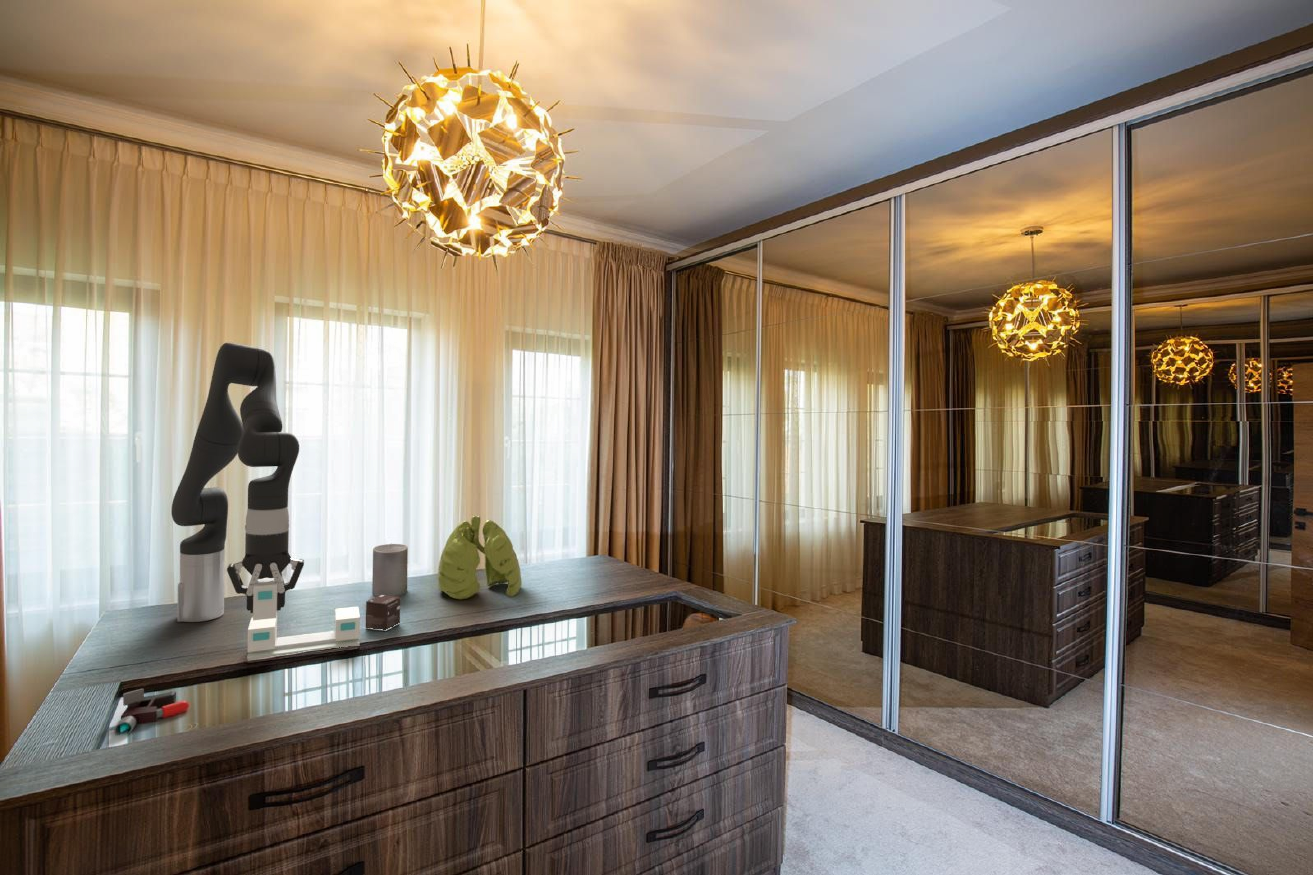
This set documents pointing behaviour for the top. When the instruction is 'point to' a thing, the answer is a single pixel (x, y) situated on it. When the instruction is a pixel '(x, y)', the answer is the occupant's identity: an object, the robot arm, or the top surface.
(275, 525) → the robot arm
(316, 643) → the board
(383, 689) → the top surface
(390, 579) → the pillar candle
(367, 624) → the box
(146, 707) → the toy gun
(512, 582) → the lungs
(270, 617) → the block
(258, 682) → the top surface
